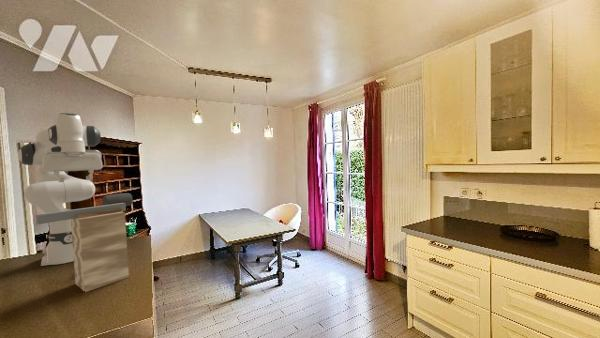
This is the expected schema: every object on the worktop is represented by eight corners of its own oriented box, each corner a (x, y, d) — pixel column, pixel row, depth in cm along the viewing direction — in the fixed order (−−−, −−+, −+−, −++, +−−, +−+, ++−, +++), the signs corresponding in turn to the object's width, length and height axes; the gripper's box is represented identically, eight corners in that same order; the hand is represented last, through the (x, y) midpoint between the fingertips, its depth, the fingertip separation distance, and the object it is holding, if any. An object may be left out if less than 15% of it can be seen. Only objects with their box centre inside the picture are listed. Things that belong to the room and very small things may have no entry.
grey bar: (36, 223, 90) (35, 214, 90) (123, 210, 111) (122, 202, 111) (38, 224, 88) (37, 215, 88) (125, 210, 109) (125, 203, 109)
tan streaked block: (75, 283, 101) (70, 213, 101) (117, 270, 113) (113, 207, 112) (85, 292, 94) (79, 216, 93) (129, 277, 105) (124, 209, 105)
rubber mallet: (109, 253, 136) (105, 195, 135) (104, 251, 141) (101, 195, 140) (136, 246, 146) (132, 192, 145) (131, 244, 151) (127, 192, 150)
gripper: (98, 150, 126) (101, 179, 125) (38, 150, 109) (42, 183, 109) (103, 148, 122) (106, 178, 122) (42, 148, 106) (45, 182, 105)
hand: (75, 181), depth 115 cm, fingers open, 8 cm apart
